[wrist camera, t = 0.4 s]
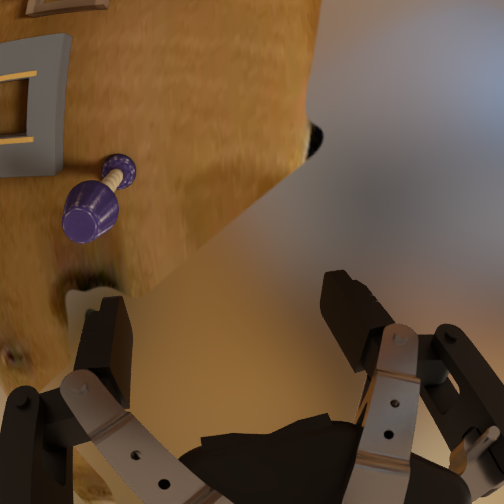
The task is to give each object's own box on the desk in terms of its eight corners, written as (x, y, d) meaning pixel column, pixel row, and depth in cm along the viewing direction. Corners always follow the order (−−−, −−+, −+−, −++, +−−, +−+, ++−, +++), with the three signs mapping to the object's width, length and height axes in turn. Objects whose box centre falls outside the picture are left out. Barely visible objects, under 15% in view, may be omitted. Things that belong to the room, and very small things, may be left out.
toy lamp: (92, 177, 34) (44, 241, 20) (109, 142, 33) (63, 185, 19) (126, 194, 36) (99, 267, 22) (144, 160, 35) (123, 214, 21)
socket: (-22, 53, 22) (-36, 52, 19) (72, 36, 25) (63, 32, 23) (-25, 172, 29) (-37, 180, 26) (63, 168, 33) (54, 176, 30)
